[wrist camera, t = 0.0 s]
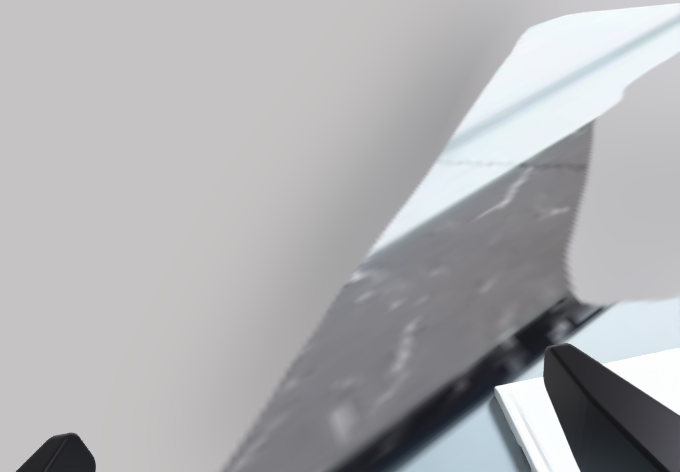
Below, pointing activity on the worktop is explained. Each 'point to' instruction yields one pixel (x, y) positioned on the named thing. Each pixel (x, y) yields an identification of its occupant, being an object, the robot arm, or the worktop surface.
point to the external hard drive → (541, 420)
